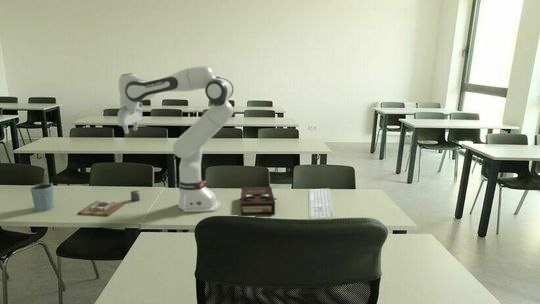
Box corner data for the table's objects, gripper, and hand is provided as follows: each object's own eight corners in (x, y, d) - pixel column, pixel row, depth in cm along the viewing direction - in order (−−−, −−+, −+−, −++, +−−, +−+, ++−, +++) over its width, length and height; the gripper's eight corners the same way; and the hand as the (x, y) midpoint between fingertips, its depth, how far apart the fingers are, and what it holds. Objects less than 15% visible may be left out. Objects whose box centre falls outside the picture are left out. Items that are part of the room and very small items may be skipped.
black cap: (141, 199, 212) (140, 190, 210) (137, 201, 207) (136, 193, 206) (133, 198, 212) (132, 190, 211) (129, 201, 208) (129, 192, 207)
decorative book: (272, 184, 218) (277, 203, 189) (272, 196, 219) (277, 217, 190) (239, 184, 216) (239, 203, 187) (239, 197, 218) (239, 217, 189)
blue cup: (36, 213, 190) (33, 190, 187) (30, 208, 197) (27, 186, 194) (58, 208, 197) (55, 186, 194) (51, 203, 204) (48, 181, 201)
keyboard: (308, 191, 230) (309, 187, 230) (329, 192, 229) (329, 188, 228) (308, 220, 187) (309, 216, 187) (334, 221, 186) (334, 217, 186)
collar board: (124, 204, 203) (123, 200, 203) (108, 216, 188) (107, 211, 187) (96, 202, 205) (95, 198, 205) (78, 214, 190) (77, 209, 189)
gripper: (125, 107, 185) (127, 135, 188) (143, 103, 205) (145, 128, 208) (113, 107, 186) (115, 135, 189) (132, 103, 205) (134, 128, 209)
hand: (131, 131), depth 198 cm, fingers open, 8 cm apart
